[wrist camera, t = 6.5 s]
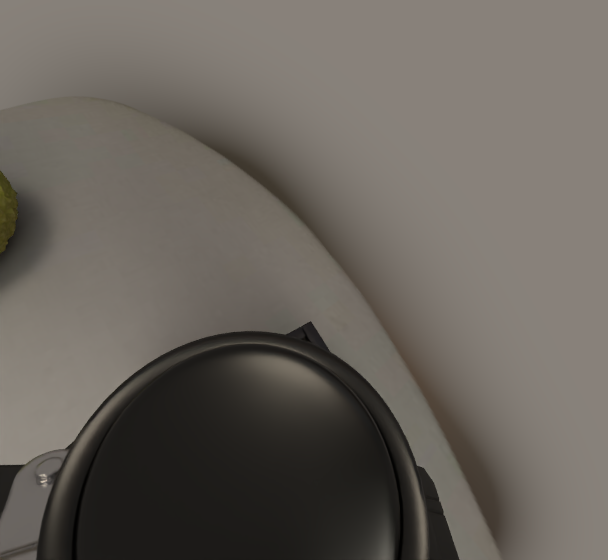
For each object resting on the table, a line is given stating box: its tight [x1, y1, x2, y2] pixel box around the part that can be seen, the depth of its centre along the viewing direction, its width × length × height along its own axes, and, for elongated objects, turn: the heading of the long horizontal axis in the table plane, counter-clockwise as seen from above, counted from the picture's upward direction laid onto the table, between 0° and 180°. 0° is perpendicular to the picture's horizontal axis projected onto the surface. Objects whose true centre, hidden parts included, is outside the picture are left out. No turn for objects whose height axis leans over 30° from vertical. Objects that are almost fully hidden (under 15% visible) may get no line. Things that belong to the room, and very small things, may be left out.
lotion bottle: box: [36, 331, 430, 560], centre depth 11 cm, size 6×6×20 cm
